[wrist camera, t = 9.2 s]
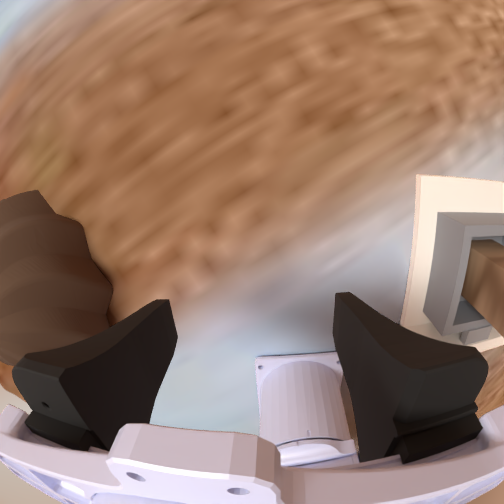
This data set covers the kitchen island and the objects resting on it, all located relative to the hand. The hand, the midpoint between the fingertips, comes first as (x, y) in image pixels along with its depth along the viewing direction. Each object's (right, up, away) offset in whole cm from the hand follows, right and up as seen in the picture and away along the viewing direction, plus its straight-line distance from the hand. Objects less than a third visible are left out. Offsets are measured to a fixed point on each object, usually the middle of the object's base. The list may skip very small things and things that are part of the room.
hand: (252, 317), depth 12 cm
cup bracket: (+19, +2, +8) cm, 20 cm away
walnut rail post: (+18, +2, +7) cm, 20 cm away
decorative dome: (-22, 0, +12) cm, 25 cm away
